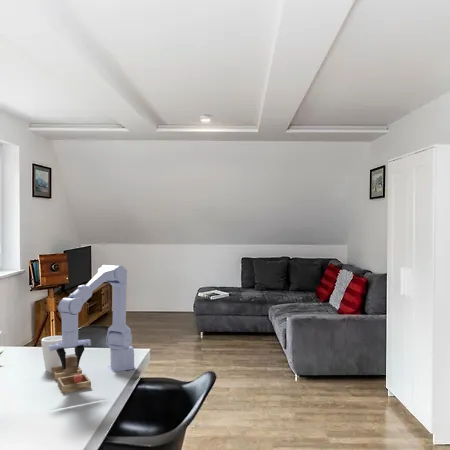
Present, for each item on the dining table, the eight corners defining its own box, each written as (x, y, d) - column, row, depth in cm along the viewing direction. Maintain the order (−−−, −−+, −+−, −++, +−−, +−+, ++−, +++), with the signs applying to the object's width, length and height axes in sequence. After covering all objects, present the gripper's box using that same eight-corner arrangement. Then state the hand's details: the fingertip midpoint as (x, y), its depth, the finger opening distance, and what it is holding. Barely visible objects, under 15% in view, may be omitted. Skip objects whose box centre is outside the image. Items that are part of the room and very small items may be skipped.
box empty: (76, 370, 187) (76, 363, 187) (82, 377, 179) (81, 370, 179) (51, 374, 183) (51, 367, 183) (55, 382, 174) (55, 374, 174)
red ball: (82, 381, 173) (82, 372, 173) (84, 384, 170) (84, 375, 170) (72, 383, 171) (72, 374, 171) (74, 386, 168) (74, 376, 168)
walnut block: (74, 370, 168) (74, 354, 168) (77, 372, 165) (77, 356, 165) (63, 372, 166) (63, 355, 166) (66, 375, 163) (65, 358, 163)
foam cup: (57, 373, 184) (56, 341, 184) (37, 372, 186) (36, 340, 186) (69, 366, 193) (69, 336, 193) (50, 365, 195) (50, 335, 195)
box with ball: (84, 381, 174) (84, 373, 174) (90, 389, 166) (90, 381, 166) (57, 386, 169) (57, 378, 169) (62, 394, 161) (62, 386, 161)
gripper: (86, 326, 173) (87, 361, 173) (47, 331, 165) (47, 368, 165) (92, 329, 167) (92, 366, 167) (51, 335, 159) (51, 373, 159)
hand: (70, 367), depth 166 cm, fingers closed on walnut block, 4 cm apart
